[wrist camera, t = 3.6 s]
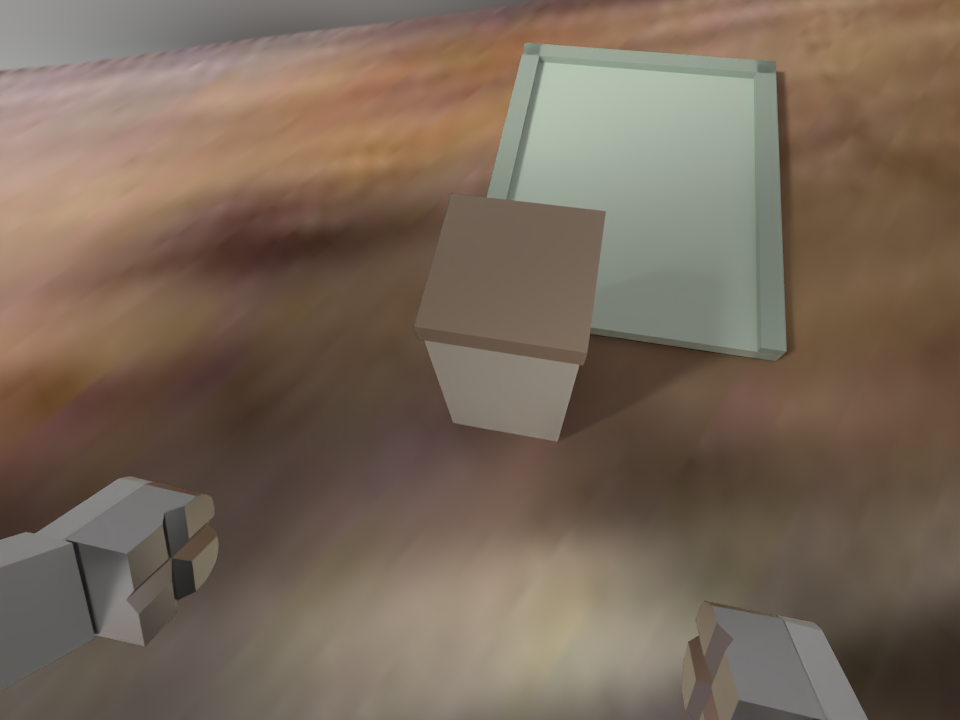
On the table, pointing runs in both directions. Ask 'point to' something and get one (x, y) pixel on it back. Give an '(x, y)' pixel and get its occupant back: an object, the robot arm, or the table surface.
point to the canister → (510, 310)
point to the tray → (660, 187)
